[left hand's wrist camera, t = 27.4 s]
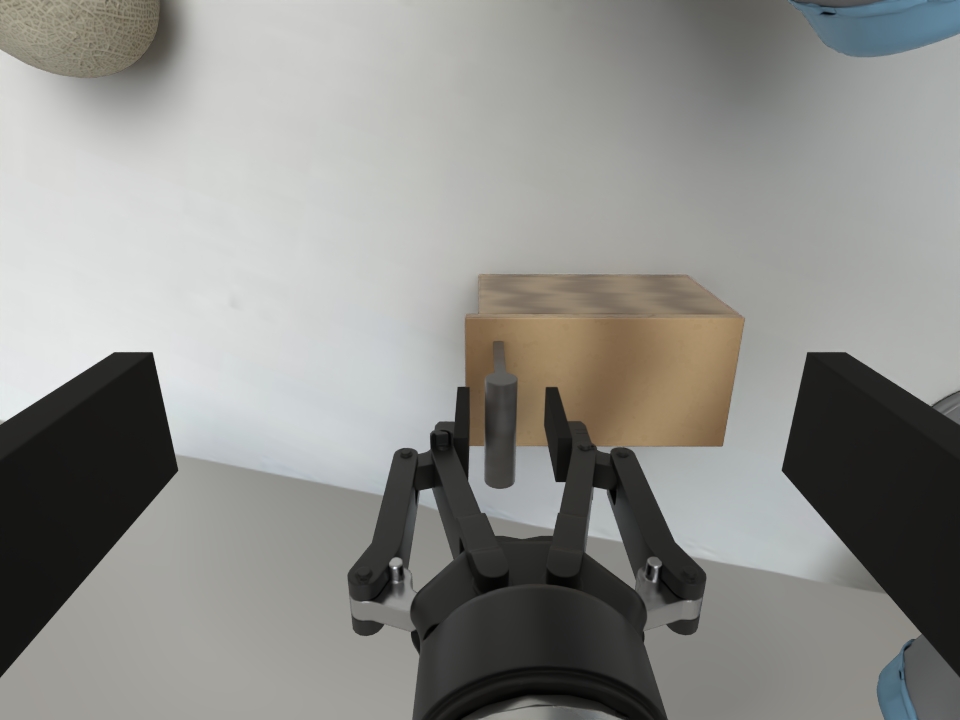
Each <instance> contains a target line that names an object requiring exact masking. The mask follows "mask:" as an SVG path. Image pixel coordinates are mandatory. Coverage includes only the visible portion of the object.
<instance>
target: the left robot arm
mask: <svg viewBox="0 0 960 720" xmlns="http://www.w3.org/2000/svg"><path fill="white" fill-rule="evenodd" d="M788 2H789V3H790V4H793V5H794V7H795V8H796V9H798V10H800V11H801V12H802V13H803V15H804V16H805V17H806V19H807V20H808V22H809V23H810V25H811V26H812V27H813V29H814V30H815V32H816V33H817V35H818V36H819V37H820V39H821V40H822V41H823V42H824V43H825V44H826V45H827V46H829V47H831V48H833V49H834V50H836V51H838V52H839V53H843V54H845V55H848V56H854V57H878V56H885V55H891V54H896V53H901V52H905V51H909V50H912V49H916V48H920V47H923V46H926V45H929V44H932V43H935V42H938V41H941V40H944V39H946V38H949V37H952V36H954V35H957V34H960V0H788ZM177 472H178V467H177V462H176V458H175V453H174V448H173V444H172V439H171V435H170V430H169V425H168V421H167V416H166V412H165V407H164V402H163V398H162V393H161V389H160V384H159V379H158V375H157V370H156V366H155V361H154V357H153V352H114V353H113V354H111V355H109V356H108V357H106V358H105V359H103V360H102V361H100V362H98V363H97V364H95V365H94V366H92V367H91V368H89V369H87V370H86V371H84V372H83V373H81V374H80V375H78V376H76V377H75V378H73V379H72V380H70V381H69V382H67V383H65V384H64V385H62V386H61V387H59V388H58V389H56V390H54V391H53V392H51V393H50V394H48V395H47V396H45V397H43V398H42V399H40V400H39V401H37V402H36V403H34V404H32V405H31V406H29V407H28V408H26V409H25V410H23V411H21V412H20V413H18V414H17V415H15V416H14V417H12V418H10V419H9V420H7V421H6V422H4V423H3V424H1V425H0V677H1V676H2V675H3V674H4V673H5V672H6V670H7V669H8V668H9V667H10V666H11V665H12V663H13V662H14V661H15V660H16V659H17V658H18V656H19V655H20V654H21V653H22V652H23V651H24V650H25V648H26V647H27V646H28V645H29V644H30V642H31V641H32V640H33V639H34V638H35V637H36V636H37V634H38V633H39V632H40V631H41V630H42V629H43V627H44V626H45V625H46V624H47V623H48V622H49V620H50V619H51V618H52V617H53V616H54V615H55V613H56V612H57V611H58V610H59V609H60V608H61V606H62V605H63V604H64V603H65V602H66V601H67V599H68V598H69V597H70V596H71V595H72V594H73V593H74V591H75V590H76V589H77V588H78V587H79V585H80V584H81V583H82V582H83V581H84V580H85V579H86V577H87V576H88V575H89V574H90V573H91V572H92V570H93V569H94V568H95V567H96V566H97V565H98V563H99V562H100V561H101V560H102V559H103V558H104V556H105V555H106V554H107V553H108V552H109V551H110V549H111V548H112V547H113V546H114V545H115V544H116V542H117V541H118V540H119V539H120V538H121V537H122V535H123V534H124V533H125V532H126V531H127V530H128V529H129V527H130V526H131V525H132V524H133V523H134V522H135V520H136V519H137V518H138V517H139V516H140V515H141V513H142V512H143V511H144V510H145V509H146V508H147V506H148V505H149V504H150V503H151V502H152V501H153V499H154V498H155V497H156V496H157V495H158V494H159V492H160V491H161V490H162V489H163V488H164V487H165V485H166V484H167V483H168V482H169V481H170V480H171V478H172V477H173V476H174V475H175V474H176V473H177ZM782 472H783V473H784V474H785V475H786V476H787V477H788V479H789V480H790V481H791V482H792V483H793V484H794V485H795V487H796V488H797V489H798V490H799V491H800V492H801V494H802V495H803V496H804V497H805V498H806V499H807V501H808V502H809V503H810V504H811V505H812V506H813V508H814V509H815V510H816V511H817V512H818V513H819V515H820V516H821V517H822V518H823V519H824V520H825V522H826V523H827V524H828V525H829V526H830V527H831V529H832V530H833V531H834V532H835V533H836V534H837V536H838V537H839V538H840V539H841V540H842V541H843V542H844V544H845V545H846V546H847V547H848V548H849V549H850V551H851V552H852V553H853V554H854V555H855V556H856V558H857V559H858V560H859V561H860V562H861V563H862V565H863V566H864V567H865V568H866V569H867V570H868V572H869V573H870V574H871V575H872V576H873V577H874V579H875V580H876V581H877V582H878V583H879V584H880V586H881V587H882V588H883V589H884V590H885V591H886V593H887V594H888V595H889V596H890V597H891V598H892V599H893V601H894V602H895V603H896V604H897V605H898V606H899V608H900V609H901V610H902V611H903V612H904V613H905V615H906V616H907V617H908V618H909V619H910V620H911V622H912V623H913V624H914V625H915V626H916V627H917V629H918V630H919V631H920V632H921V633H922V634H923V636H924V637H925V638H926V639H927V640H928V641H929V643H930V644H931V645H932V646H933V647H934V648H935V650H936V651H937V652H938V653H939V654H940V655H941V656H942V658H943V659H944V660H945V661H946V662H947V663H948V665H949V666H950V667H951V668H952V669H953V670H954V672H955V673H956V674H957V675H958V676H959V677H960V425H959V424H957V423H956V422H954V421H953V420H951V419H950V418H948V417H946V416H945V415H943V414H942V413H940V412H939V411H937V410H935V409H934V408H932V407H931V406H929V405H928V404H926V403H924V402H923V401H921V400H920V399H918V398H917V397H915V396H913V395H912V394H910V393H909V392H907V391H906V390H904V389H902V388H901V387H899V386H898V385H896V384H895V383H893V382H891V381H890V380H888V379H887V378H885V377H884V376H882V375H880V374H879V373H877V372H876V371H874V370H873V369H871V368H869V367H868V366H866V365H865V364H863V363H862V362H860V361H858V360H857V359H855V358H854V357H852V356H851V355H849V354H847V353H846V352H807V357H806V361H805V366H804V370H803V375H802V379H801V384H800V389H799V393H798V398H797V402H796V407H795V412H794V416H793V421H792V425H791V430H790V435H789V439H788V444H787V448H786V453H785V458H784V462H783V467H782Z"/></svg>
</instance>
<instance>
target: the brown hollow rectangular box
mask: <svg viewBox="0 0 960 720" xmlns="http://www.w3.org/2000/svg"><path fill="white" fill-rule="evenodd" d="M479 314H735V315H739V314H738V313H737V312H736V311H734V310H733V309H732V308H730V307H729V306H728V305H726V304H725V303H724V302H722V301H721V300H720V299H718V298H717V297H716V296H714V295H713V294H712V293H710V292H709V291H708V290H706V289H705V288H704V287H702V286H701V285H700V284H698V283H697V282H696V281H694V280H693V279H692V278H690V277H689V276H688V275H479Z"/></svg>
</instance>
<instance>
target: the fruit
mask: <svg viewBox="0 0 960 720" xmlns="http://www.w3.org/2000/svg"><path fill="white" fill-rule="evenodd" d="M159 11H160V1H159V0H0V49H1V50H3V51H4V52H6V53H8V54H10V55H11V56H13V57H15V58H17V59H19V60H21V61H22V62H24V63H26V64H28V65H31V66H34V67H36V68H38V69H41V70H44V71H48V72H51V73H54V74H59V75H65V76H72V77H79V78H92V77H100V76H106V75H110V74H114V73H116V72H119V71H122V70H124V69H125V68H127V67H129V66H131V65H132V64H133V63H135V62H136V61H137V60H139V59H140V58H141V57H142V55H143V54H144V53H145V52H146V51H147V49H148V47H149V46H150V44H151V43H152V41H153V39H154V37H155V34H156V32H157V28H158V23H159Z"/></svg>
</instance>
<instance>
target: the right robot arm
mask: <svg viewBox="0 0 960 720" xmlns="http://www.w3.org/2000/svg"><path fill="white" fill-rule="evenodd" d="M932 408H934V409H935V410H937V411H939V412H940V413H942V414H943V415H945V416H946V417H948V418H950V419H951V420H953V421H954V422H956V423H957V424H959V425H960V392H958V393H956V394H953V395H951V396H950V397H948V398H946V399H944V400H942V401H941V402H939V403H938V404H936V405H935V406H934V407H932ZM544 428H545V433H546V438H547V442H548V447H549V452H550V457H551V462H552V466H553V471H554V476H555V481H556V482H566V484H565V488H564V493H563V498H562V503H561V508H560V513H558V515H557V520H556V525H555V529H554V534H553V536H538V537H533V538H527V539H518V538H512V537H506V536H495V535H494V533H493V530H492V528H491V525H490V523H489V521H488V518H487V516H486V514H485V513H481V511H480V509H479V507H478V504H477V502H476V499H475V497H474V494H473V492H472V490H471V487H470V485H469V482H468V470H469V440H470V387H458V389H457V401H456V413H455V422H438V423H437V424H436V425H435V430H434V431H432V432H431V433H430V445H431V449H430V450H429V451H428V452H425V453H422V454H418V452H417V451H416V450H415V449H412V448H402V449H399V450H397V451H396V452H395V453H394V456H393V460H392V464H391V468H390V472H389V476H388V480H387V484H386V488H385V492H384V496H383V500H382V504H381V508H380V512H379V516H378V520H377V524H376V528H375V532H374V536H373V540H372V543H371V545H370V546H369V547H368V548H367V550H366V551H365V552H364V553H363V555H362V556H361V557H360V558H359V559H358V561H357V562H356V563H355V564H354V566H353V567H352V568H351V569H350V571H349V573H348V586H349V598H350V608H351V615H352V624H353V630H354V631H355V633H357V634H359V635H362V636H369V635H373V634H375V633H377V632H378V631H379V630H380V629H381V628H382V627H383V626H384V624H386V625H389V626H393V627H396V628H399V629H403V630H406V631H409V632H411V638H412V642H413V644H414V646H415V648H416V650H417V651H418V653H419V665H418V674H417V683H416V692H415V701H414V709H413V718H412V720H668V719H667V716H666V712H665V709H664V706H663V703H662V700H661V696H660V693H659V690H658V687H657V684H656V681H655V677H654V674H653V671H652V668H651V664H650V661H649V658H648V655H647V652H646V648H645V646H644V631H646V630H649V629H652V628H656V627H659V626H662V625H665V624H666V625H667V626H668V627H669V628H670V629H671V630H672V631H674V632H676V633H678V634H682V635H691V634H693V633H695V632H696V630H697V628H698V623H699V617H700V611H701V605H702V599H703V594H704V589H705V583H706V573H705V572H704V571H703V569H702V568H701V567H700V566H699V565H698V564H697V563H696V562H695V561H694V560H693V559H692V558H691V557H690V556H688V555H687V554H686V553H685V552H684V551H683V550H682V549H681V548H680V547H679V546H678V545H677V544H676V543H675V541H674V539H673V537H672V535H671V532H670V530H669V528H668V526H667V524H666V521H665V519H664V517H663V515H662V513H661V510H660V508H659V506H658V504H657V502H656V499H655V497H654V495H653V493H652V491H651V489H650V486H649V484H648V482H647V480H646V478H645V475H644V473H643V471H642V469H641V467H640V464H639V462H638V460H637V458H636V456H635V453H634V452H633V451H632V450H630V449H628V448H624V447H623V448H622V447H618V448H614V449H612V450H611V453H610V454H608V453H603V452H600V451H598V450H597V447H596V446H595V445H594V444H593V443H592V442H591V439H590V437H589V434H588V431H587V428H586V425H585V424H584V423H582V422H581V421H567V418H566V414H565V411H564V407H563V404H562V400H561V397H560V393H559V390H558V387H546V389H545V412H544ZM594 487H596V488H602V489H607V495H608V498H609V501H610V504H611V507H612V510H613V513H614V516H615V519H616V522H617V525H618V528H619V531H620V534H621V537H622V540H623V543H624V546H625V549H626V552H627V555H628V558H629V561H630V564H631V567H632V570H633V573H634V576H635V579H636V586H635V590H634V589H632V588H631V587H630V586H628V585H627V584H626V583H624V582H623V581H622V580H620V579H619V578H618V577H616V576H615V575H614V574H612V573H611V572H610V571H608V570H607V569H606V568H605V567H603V566H602V565H600V564H599V563H598V562H597V561H595V560H594V559H593V558H591V557H590V556H589V555H587V554H586V553H585V551H586V543H587V536H588V528H589V520H590V512H591V504H592V500H593V489H594ZM429 488H432V490H433V493H434V497H435V500H436V503H437V506H438V510H439V513H440V516H441V520H442V523H443V526H444V529H445V533H446V536H447V539H448V542H449V545H450V549H451V552H452V555H453V559H454V560H453V561H452V562H451V563H450V564H449V565H448V566H446V567H445V568H444V569H443V570H442V571H441V572H440V573H439V574H438V575H436V576H435V577H434V578H433V579H432V580H431V581H430V582H429V583H427V584H426V585H425V586H424V587H423V588H422V589H421V590H420V591H419V592H418V593H417V592H415V591H414V590H413V583H412V573H411V572H410V571H409V570H408V566H409V559H410V553H411V546H412V540H413V533H414V527H415V520H416V514H417V508H418V501H419V495H420V492H419V490H424V489H429ZM877 696H878V701H879V705H880V709H881V711H882V714H883V717H884V719H885V720H960V677H959V676H958V675H957V674H956V673H955V672H954V670H953V669H952V668H951V667H950V666H949V665H948V663H947V662H946V661H945V660H944V659H943V658H942V656H941V655H940V654H939V653H938V652H937V651H936V650H935V648H934V647H933V646H932V645H931V644H930V643H929V641H928V640H927V639H926V638H925V637H924V636H923V634H921V635H920V636H919V637H918V638H917V639H911V640H910V641H908V642H907V643H906V644H905V645H904V646H903V647H902V649H901V652H900V653H899V654H898V655H897V656H896V657H895V658H894V659H893V660H892V661H891V662H890V663H889V664H888V665H887V666H886V667H885V668H884V669H883V670H882V671H881V673H880V675H879V681H878V685H877Z"/></svg>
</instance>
